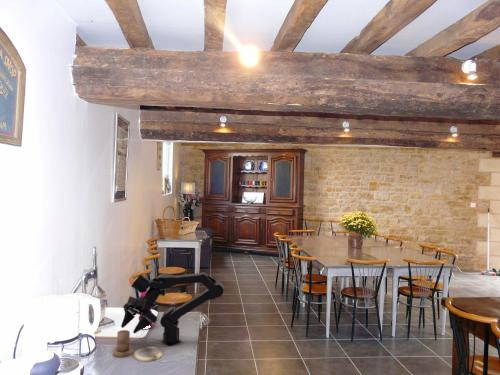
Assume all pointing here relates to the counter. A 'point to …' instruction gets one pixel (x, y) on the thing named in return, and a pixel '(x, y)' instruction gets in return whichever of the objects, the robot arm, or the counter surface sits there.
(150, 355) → the plate
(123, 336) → the brown flanged knob
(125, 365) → the counter surface
